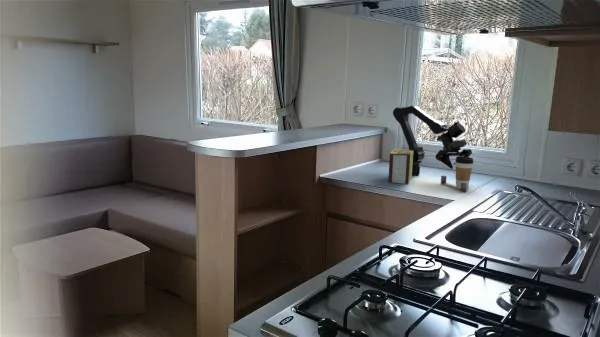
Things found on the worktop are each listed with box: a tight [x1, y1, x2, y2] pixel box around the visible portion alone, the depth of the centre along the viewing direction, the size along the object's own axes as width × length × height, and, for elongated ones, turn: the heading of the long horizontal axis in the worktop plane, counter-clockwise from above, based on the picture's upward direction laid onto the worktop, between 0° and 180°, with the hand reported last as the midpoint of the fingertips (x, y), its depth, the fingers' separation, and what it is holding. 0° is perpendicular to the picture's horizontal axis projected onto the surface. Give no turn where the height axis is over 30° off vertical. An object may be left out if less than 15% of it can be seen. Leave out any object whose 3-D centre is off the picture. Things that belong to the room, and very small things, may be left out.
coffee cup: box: [455, 156, 474, 189], centre depth 230 cm, size 8×8×15 cm
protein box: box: [388, 148, 413, 185], centre depth 241 cm, size 10×15×16 cm
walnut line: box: [440, 175, 467, 193], centre depth 228 cm, size 20×3×4 cm, turn 15°
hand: (460, 168), depth 232 cm, fingers open, 9 cm apart
